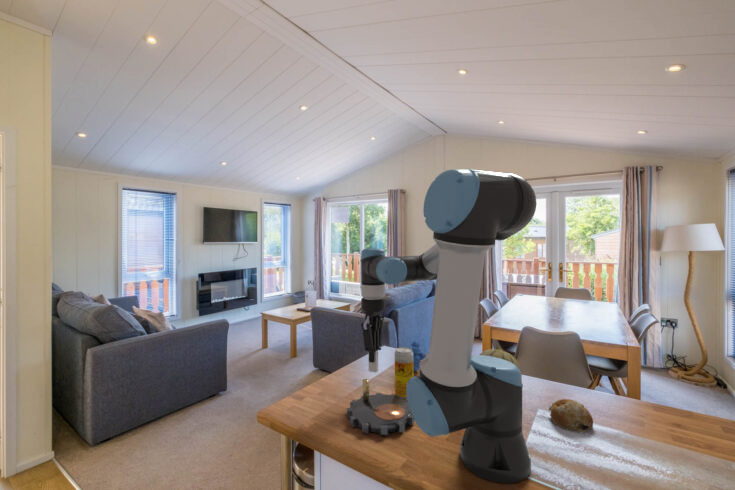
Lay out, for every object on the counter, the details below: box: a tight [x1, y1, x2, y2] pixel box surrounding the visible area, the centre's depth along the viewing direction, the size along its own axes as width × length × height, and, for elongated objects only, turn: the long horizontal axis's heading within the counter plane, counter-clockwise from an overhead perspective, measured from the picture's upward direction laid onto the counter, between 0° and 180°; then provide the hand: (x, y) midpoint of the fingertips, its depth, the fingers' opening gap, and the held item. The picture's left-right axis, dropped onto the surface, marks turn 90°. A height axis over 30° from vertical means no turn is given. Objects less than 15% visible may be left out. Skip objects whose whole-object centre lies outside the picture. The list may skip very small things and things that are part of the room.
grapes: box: [410, 340, 427, 372], centre depth 131 cm, size 12×7×12 cm, turn 171°
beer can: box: [394, 346, 415, 399], centre depth 111 cm, size 6×6×15 cm
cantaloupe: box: [479, 345, 523, 377], centre depth 111 cm, size 15×15×15 cm
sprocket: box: [346, 378, 416, 436], centre depth 97 cm, size 20×20×8 cm
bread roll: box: [548, 398, 594, 434], centre depth 93 cm, size 10×10×8 cm
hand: (373, 370), depth 108 cm, fingers closed
